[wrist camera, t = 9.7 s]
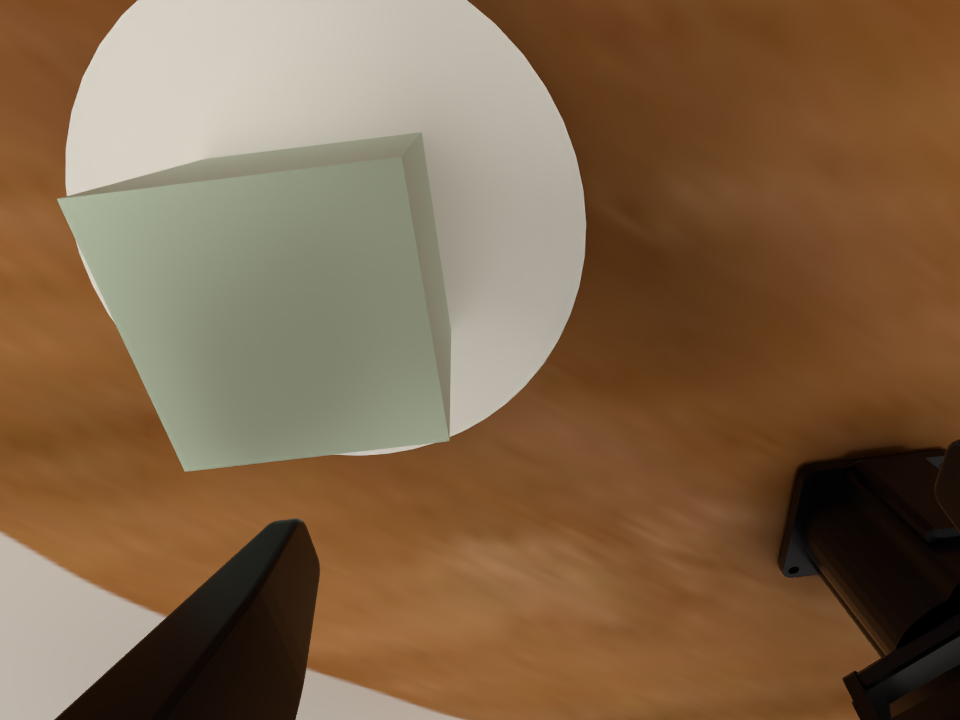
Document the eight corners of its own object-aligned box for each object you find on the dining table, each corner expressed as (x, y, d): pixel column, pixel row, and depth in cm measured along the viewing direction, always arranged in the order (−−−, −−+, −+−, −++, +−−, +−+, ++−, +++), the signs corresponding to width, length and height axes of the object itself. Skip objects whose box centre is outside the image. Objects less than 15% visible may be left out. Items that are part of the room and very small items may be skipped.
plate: (581, 407, 20) (589, 429, 19) (202, 452, 21) (184, 477, 19) (568, -81, 13) (580, -99, 12) (-3, -6, 14) (-52, -16, 12)
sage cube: (451, 331, 17) (449, 440, 12) (269, 352, 17) (185, 471, 12) (421, 132, 14) (401, 157, 9) (205, 158, 14) (56, 198, 9)
